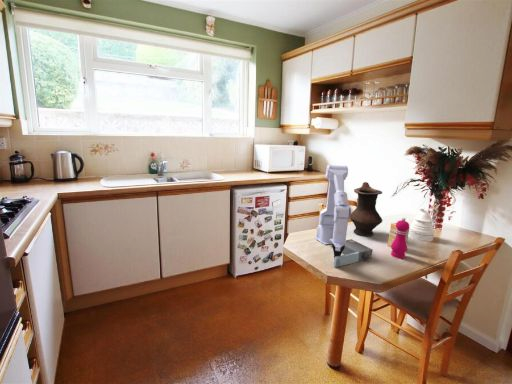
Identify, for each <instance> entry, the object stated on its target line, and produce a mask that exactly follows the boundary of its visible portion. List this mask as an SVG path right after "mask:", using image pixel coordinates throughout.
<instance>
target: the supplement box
mask: <svg viewBox="0 0 512 384" xmlns="http://www.w3.org/2000/svg"><path fill="white" fill-rule="evenodd" d="M396 223H397V222H391V224H390V229H389V234H388V241H387V247H390V248H391V245H392V242H393V241H394V240H395V238H396V234H397V233H396V229H397V228H396ZM409 230H410V228H409V229H408V230H407V234H406V237H405V240H406V244H407V245H408V238H409Z"/></svg>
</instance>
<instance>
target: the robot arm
mask: <svg viewBox="0 0 512 384" xmlns="http://www.w3.org/2000/svg"><path fill="white" fill-rule="evenodd" d="M348 175H349V167H348V166H347V165H336V164H327V165H326V168H325V179H326V180H328V190H327V197H326V206H325V208H323V209H321V210H320V211H319V212H320V213H319V214H318V215H319V216H318V226H317V227H316V236H315V238H314V239H315V240H316V241H318V242H320V243H322V244H323V245H331V248H332V251H333V259H335V257H337V256H341V255H342V251H343V250H344V248H345V244H346V240H347V234H348V233H347V232H348V223H349V220H351V219H350V216H351V213H352V208H351V205H350V204H349V201H348V194H347V192H346V191H345V180H346V179H347V177H348Z"/></svg>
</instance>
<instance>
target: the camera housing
mask: <svg viewBox="0 0 512 384" xmlns="http://www.w3.org/2000/svg"><path fill="white" fill-rule="evenodd" d="M356 252H358V253H359V259H358V262H361V261H365V260H368V259H372V257H373V249H372V248H371V247H369V246H366V245H364V244H363V243H360V242H358V241H356V240H354V239H346V244H345V248H344V250H343V251H342V253H341V255H346V254H351V253H356Z"/></svg>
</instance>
